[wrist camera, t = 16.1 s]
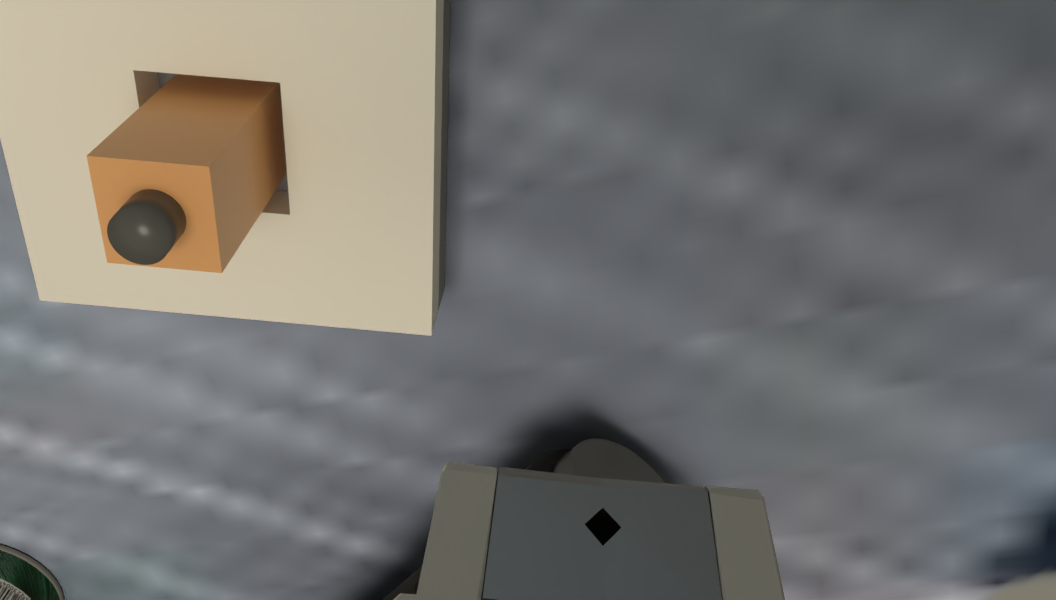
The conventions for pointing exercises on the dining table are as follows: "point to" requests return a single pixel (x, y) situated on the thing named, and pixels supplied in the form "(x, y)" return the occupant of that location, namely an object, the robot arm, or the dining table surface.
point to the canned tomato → (25, 578)
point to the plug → (189, 173)
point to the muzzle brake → (582, 461)
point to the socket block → (309, 144)
